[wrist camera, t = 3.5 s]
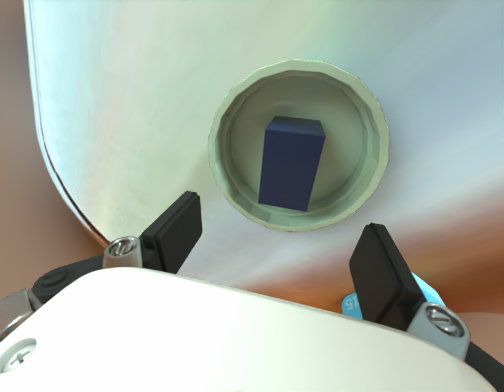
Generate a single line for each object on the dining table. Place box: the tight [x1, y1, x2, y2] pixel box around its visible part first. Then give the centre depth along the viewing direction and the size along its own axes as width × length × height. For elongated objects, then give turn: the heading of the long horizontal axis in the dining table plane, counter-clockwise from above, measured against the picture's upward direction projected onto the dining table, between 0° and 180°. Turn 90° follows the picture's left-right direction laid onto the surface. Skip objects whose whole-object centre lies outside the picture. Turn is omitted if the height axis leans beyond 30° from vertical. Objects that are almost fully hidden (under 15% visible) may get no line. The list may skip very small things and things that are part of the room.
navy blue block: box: [258, 116, 326, 212], centre depth 20 cm, size 5×7×6 cm, turn 176°
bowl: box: [208, 59, 390, 232], centre depth 21 cm, size 16×16×4 cm
